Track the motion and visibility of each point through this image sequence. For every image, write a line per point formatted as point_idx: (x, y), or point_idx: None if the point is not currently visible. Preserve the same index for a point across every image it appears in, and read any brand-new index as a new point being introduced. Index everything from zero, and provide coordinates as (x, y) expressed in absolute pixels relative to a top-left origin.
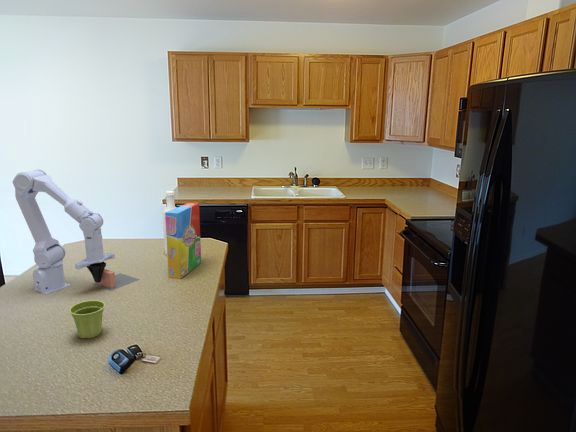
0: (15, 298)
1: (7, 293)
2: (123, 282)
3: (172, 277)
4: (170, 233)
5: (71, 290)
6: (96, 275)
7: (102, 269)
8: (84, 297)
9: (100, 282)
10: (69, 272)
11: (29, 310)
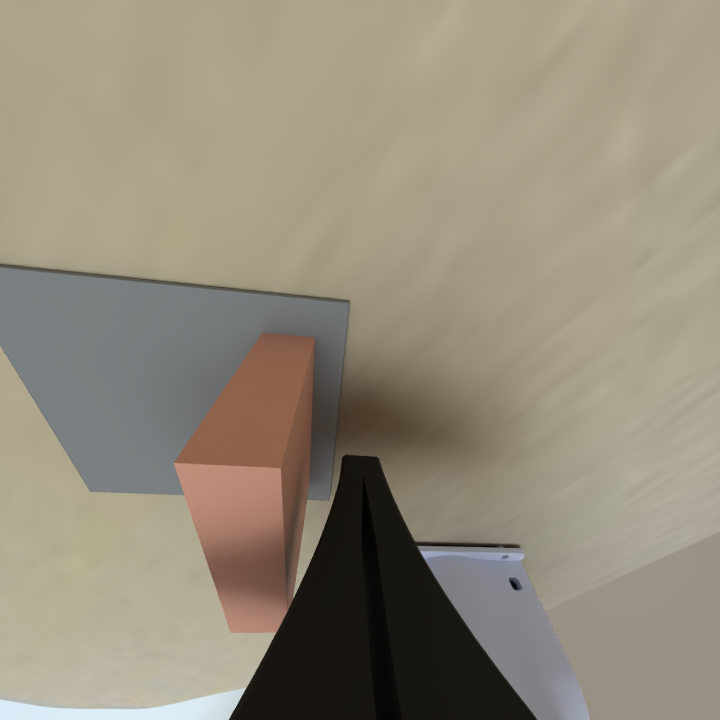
0: (569, 582)
1: None
2: (151, 351)
3: None
4: None
5: (439, 510)
6: (414, 541)
7: (323, 620)
8: (513, 392)
9: (307, 467)
10: None
11: (709, 485)
